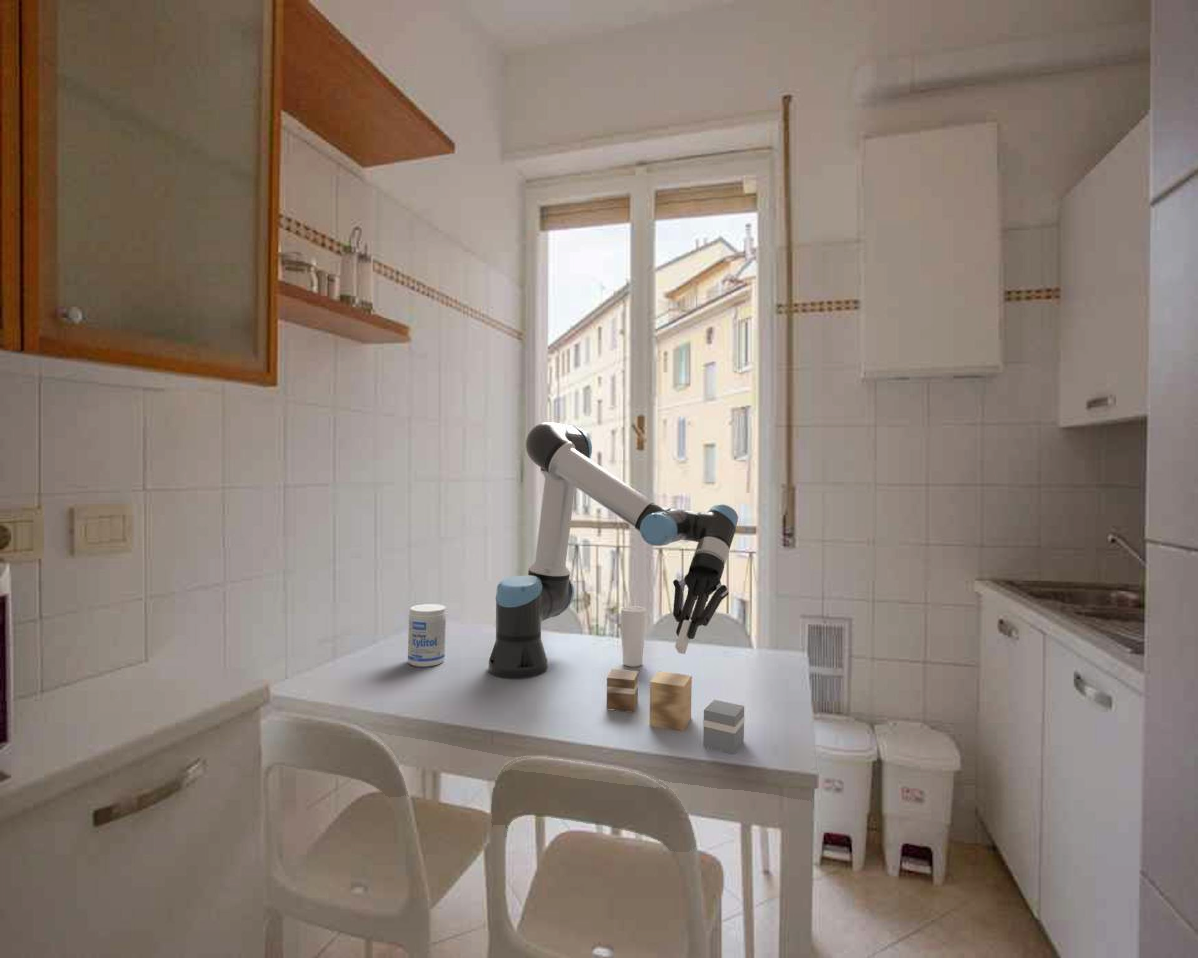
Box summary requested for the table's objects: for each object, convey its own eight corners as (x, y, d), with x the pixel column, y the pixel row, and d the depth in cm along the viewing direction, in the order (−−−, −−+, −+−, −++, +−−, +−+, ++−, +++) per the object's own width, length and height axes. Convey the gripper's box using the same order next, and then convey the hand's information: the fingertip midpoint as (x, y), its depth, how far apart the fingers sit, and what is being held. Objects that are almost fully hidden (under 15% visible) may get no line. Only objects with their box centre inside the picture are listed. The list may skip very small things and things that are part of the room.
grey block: (702, 746, 113) (703, 709, 113) (713, 734, 118) (714, 699, 118) (734, 754, 110) (735, 716, 110) (744, 741, 115) (744, 705, 115)
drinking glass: (637, 670, 156) (638, 612, 156) (615, 665, 160) (616, 609, 160) (649, 663, 162) (650, 607, 162) (627, 658, 166) (628, 604, 165)
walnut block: (606, 709, 130) (606, 677, 130) (611, 699, 136) (611, 668, 136) (634, 712, 129) (634, 680, 129) (638, 701, 135) (638, 670, 135)
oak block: (649, 725, 122) (650, 681, 122) (658, 712, 129) (659, 671, 129) (683, 731, 120) (683, 686, 120) (691, 718, 126) (691, 675, 126)
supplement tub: (409, 669, 154) (410, 612, 154) (406, 658, 163) (406, 604, 163) (448, 665, 158) (448, 609, 158) (442, 655, 167) (443, 602, 166)
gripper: (739, 573, 139) (713, 664, 125) (687, 568, 146) (657, 654, 132) (732, 553, 134) (705, 645, 120) (678, 548, 141) (646, 635, 127)
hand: (680, 650), depth 126 cm, fingers closed
